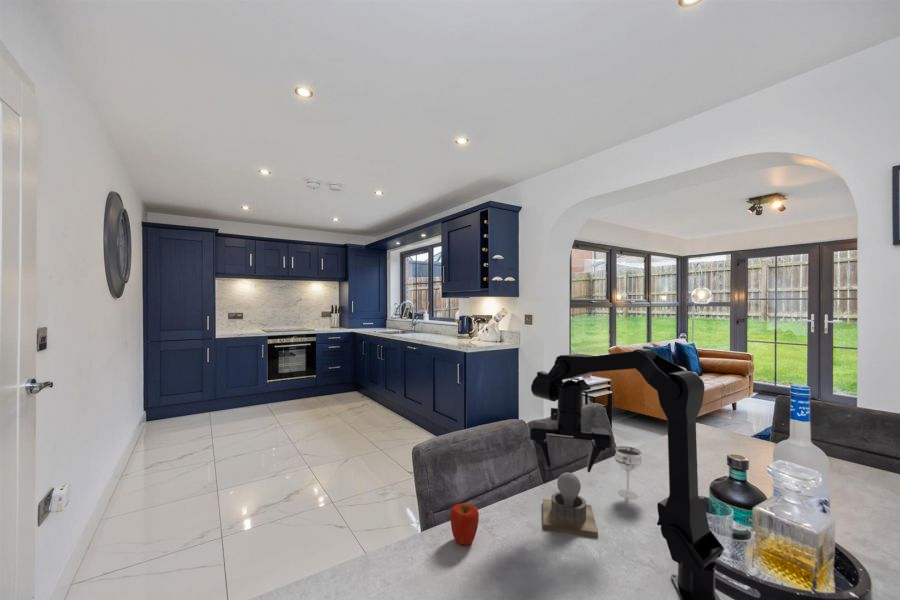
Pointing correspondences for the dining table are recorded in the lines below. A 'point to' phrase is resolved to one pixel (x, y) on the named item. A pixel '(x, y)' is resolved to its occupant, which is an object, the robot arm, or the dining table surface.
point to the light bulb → (568, 488)
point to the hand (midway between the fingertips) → (568, 469)
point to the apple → (464, 523)
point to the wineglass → (628, 465)
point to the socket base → (569, 516)
